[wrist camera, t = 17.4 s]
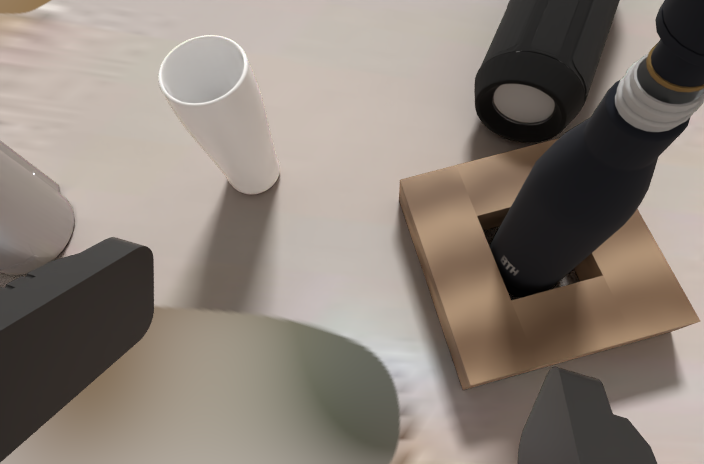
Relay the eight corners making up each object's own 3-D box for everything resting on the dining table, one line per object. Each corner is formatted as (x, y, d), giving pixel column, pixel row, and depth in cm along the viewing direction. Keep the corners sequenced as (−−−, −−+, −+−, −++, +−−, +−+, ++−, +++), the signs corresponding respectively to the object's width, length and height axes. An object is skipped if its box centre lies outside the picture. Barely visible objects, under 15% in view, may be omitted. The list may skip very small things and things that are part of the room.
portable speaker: (532, -36, 57) (559, -126, 48) (617, -16, 55) (663, -106, 46) (459, 129, 49) (475, 58, 39) (555, 161, 46) (597, 94, 37)
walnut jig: (399, 200, 46) (399, 179, 42) (576, 153, 46) (592, 129, 43) (462, 390, 39) (470, 385, 35) (671, 331, 39) (700, 321, 36)
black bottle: (564, 240, 43) (884, -102, 15) (552, 307, 41) (902, 45, 13) (493, 222, 44) (672, -128, 17) (478, 285, 42) (656, 3, 14)
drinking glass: (244, 216, 46) (184, 123, 32) (210, 169, 49) (140, 64, 35) (301, 177, 47) (266, 72, 34) (265, 133, 50) (218, 19, 36)
